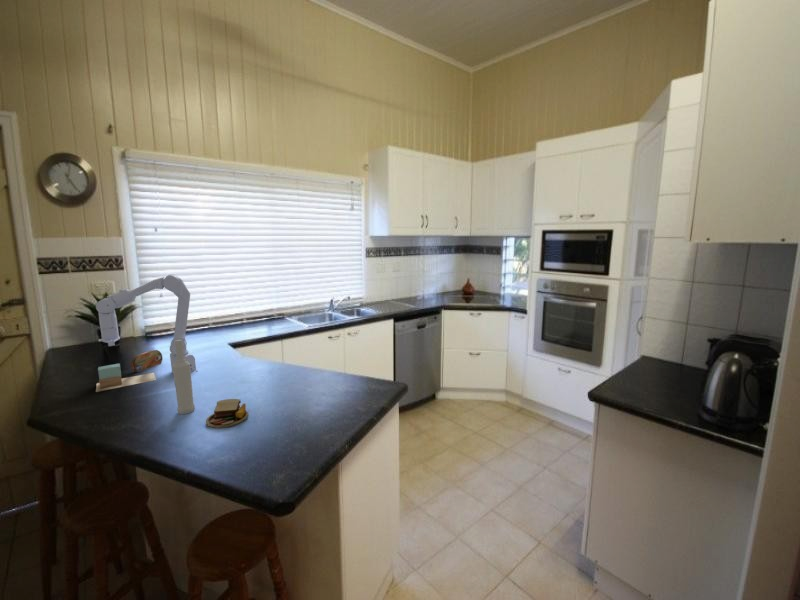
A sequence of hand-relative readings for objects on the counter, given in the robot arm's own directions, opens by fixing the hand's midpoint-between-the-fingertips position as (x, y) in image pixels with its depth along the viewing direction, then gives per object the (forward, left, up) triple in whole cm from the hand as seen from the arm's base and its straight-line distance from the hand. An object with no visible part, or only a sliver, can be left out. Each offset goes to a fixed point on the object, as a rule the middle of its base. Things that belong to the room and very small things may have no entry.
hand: (113, 359), depth 157 cm
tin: (+4, -17, -11) cm, 20 cm away
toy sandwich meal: (-70, +15, -11) cm, 73 cm away
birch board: (-5, 0, -10) cm, 12 cm away
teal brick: (-2, +3, -6) cm, 7 cm away
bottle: (-52, +14, -10) cm, 55 cm away
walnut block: (-2, +4, -9) cm, 10 cm away
